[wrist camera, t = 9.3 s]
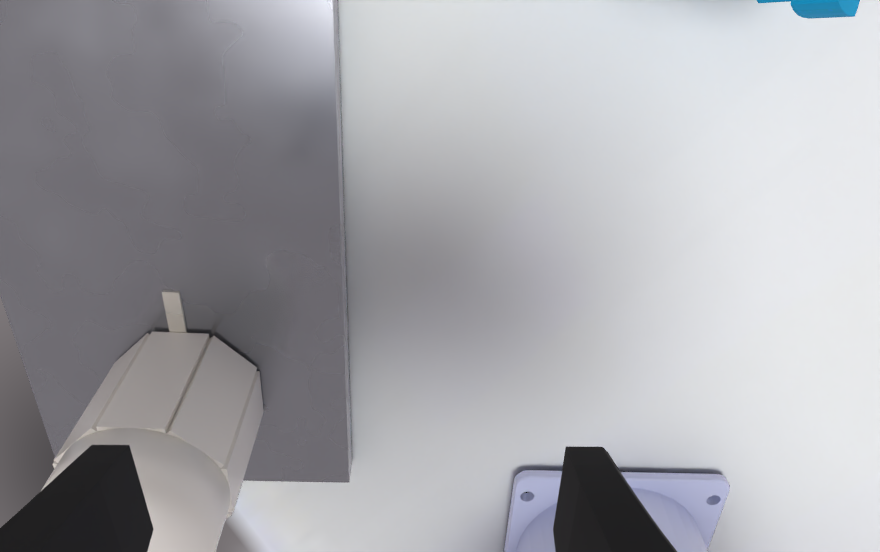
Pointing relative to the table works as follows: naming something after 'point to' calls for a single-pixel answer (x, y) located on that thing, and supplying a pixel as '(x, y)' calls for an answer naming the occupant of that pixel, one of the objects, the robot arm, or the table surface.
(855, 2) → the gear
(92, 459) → the robot arm
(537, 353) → the table surface
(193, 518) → the knob
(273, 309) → the flat rectangular plate
